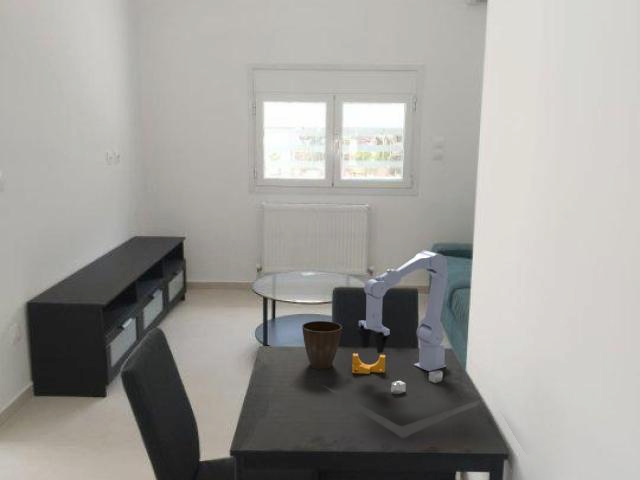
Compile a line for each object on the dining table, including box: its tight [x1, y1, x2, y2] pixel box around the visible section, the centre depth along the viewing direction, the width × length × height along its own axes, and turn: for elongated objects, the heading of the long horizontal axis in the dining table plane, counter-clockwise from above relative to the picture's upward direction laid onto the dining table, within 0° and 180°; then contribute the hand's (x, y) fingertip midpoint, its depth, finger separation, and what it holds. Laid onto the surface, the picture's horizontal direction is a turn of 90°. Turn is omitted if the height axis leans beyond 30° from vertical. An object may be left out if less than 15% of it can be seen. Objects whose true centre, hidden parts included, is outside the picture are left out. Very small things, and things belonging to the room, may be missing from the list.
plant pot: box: [301, 320, 343, 370], centre depth 225 cm, size 15×15×16 cm
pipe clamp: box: [351, 353, 386, 375], centre depth 221 cm, size 12×4×6 cm, turn 85°
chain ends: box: [390, 369, 443, 395], centre depth 209 cm, size 24×3×3 cm, turn 126°
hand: (373, 349), depth 215 cm, fingers open, 7 cm apart
